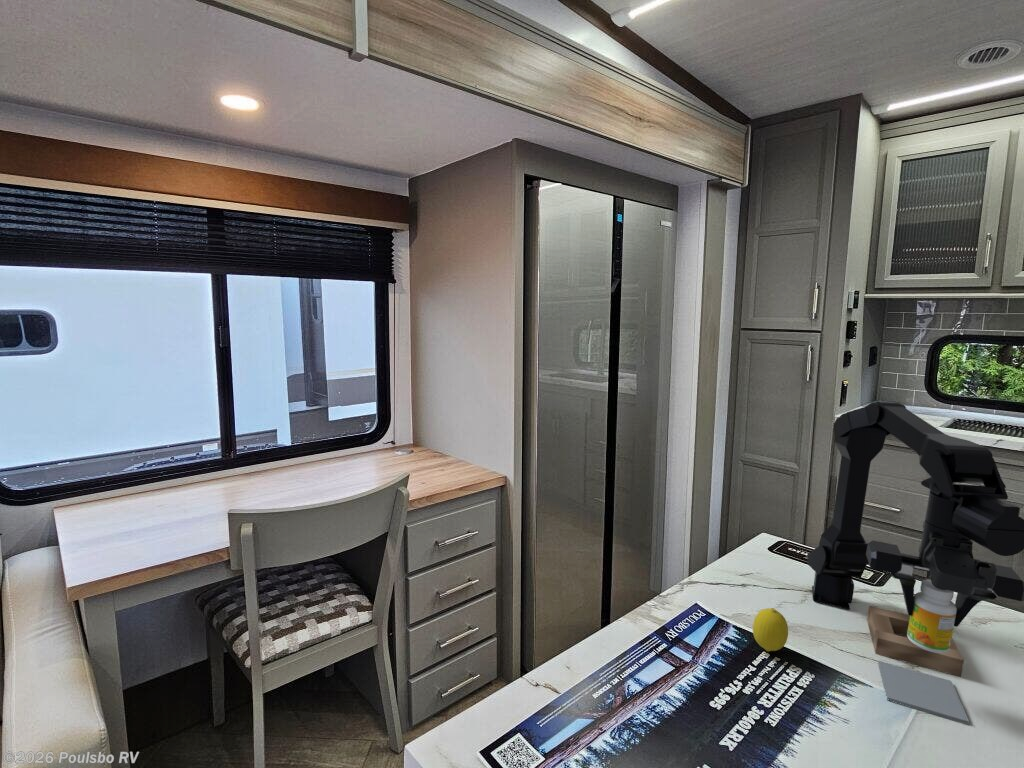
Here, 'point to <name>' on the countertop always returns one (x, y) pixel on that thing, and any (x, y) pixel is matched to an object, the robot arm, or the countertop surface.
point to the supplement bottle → (932, 618)
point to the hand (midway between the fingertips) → (931, 619)
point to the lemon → (770, 629)
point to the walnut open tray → (908, 643)
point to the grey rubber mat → (922, 692)
